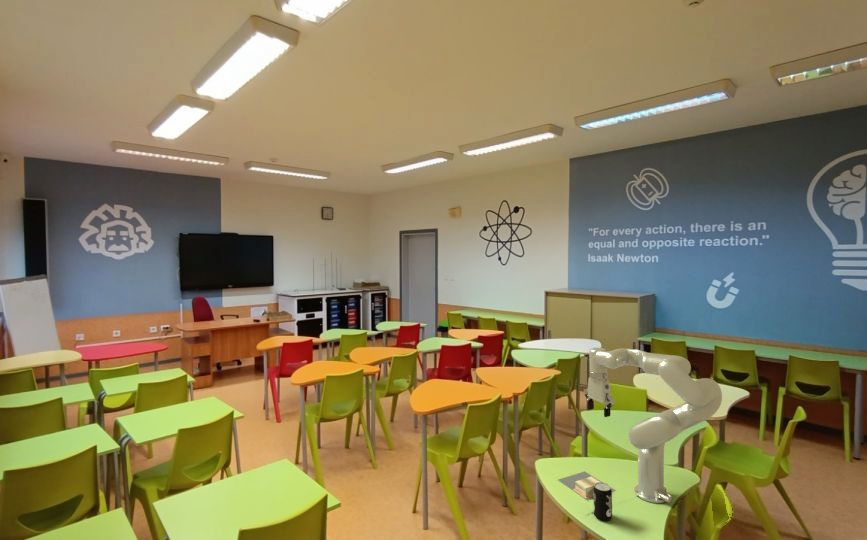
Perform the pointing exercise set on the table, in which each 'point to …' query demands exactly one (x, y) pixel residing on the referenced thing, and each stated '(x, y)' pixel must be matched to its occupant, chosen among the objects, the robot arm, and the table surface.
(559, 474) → the table surface
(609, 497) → the beverage can
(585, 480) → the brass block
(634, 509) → the table surface
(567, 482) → the rubber mat
